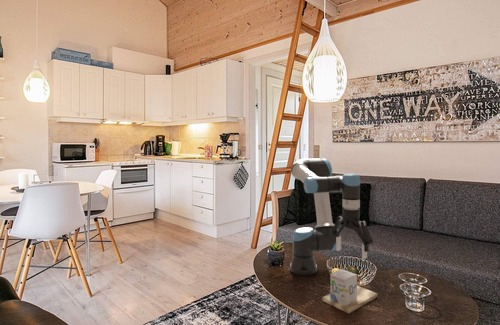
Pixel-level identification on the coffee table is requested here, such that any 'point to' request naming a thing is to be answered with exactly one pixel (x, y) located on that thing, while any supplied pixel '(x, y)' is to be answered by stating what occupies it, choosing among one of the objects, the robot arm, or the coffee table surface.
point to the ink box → (343, 286)
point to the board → (362, 298)
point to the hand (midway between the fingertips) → (351, 254)
